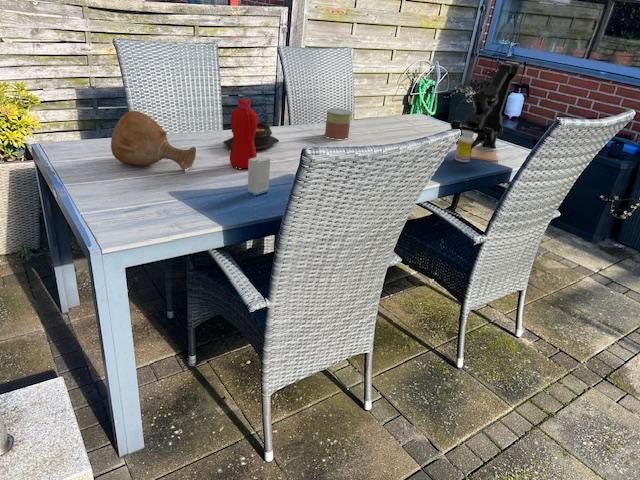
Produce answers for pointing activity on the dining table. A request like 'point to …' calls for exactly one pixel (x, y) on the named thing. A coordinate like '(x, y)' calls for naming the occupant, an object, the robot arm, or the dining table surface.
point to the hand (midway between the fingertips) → (463, 146)
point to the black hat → (259, 137)
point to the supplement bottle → (464, 146)
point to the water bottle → (243, 134)
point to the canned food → (337, 123)
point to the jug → (145, 142)
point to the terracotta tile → (484, 155)
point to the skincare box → (258, 174)
